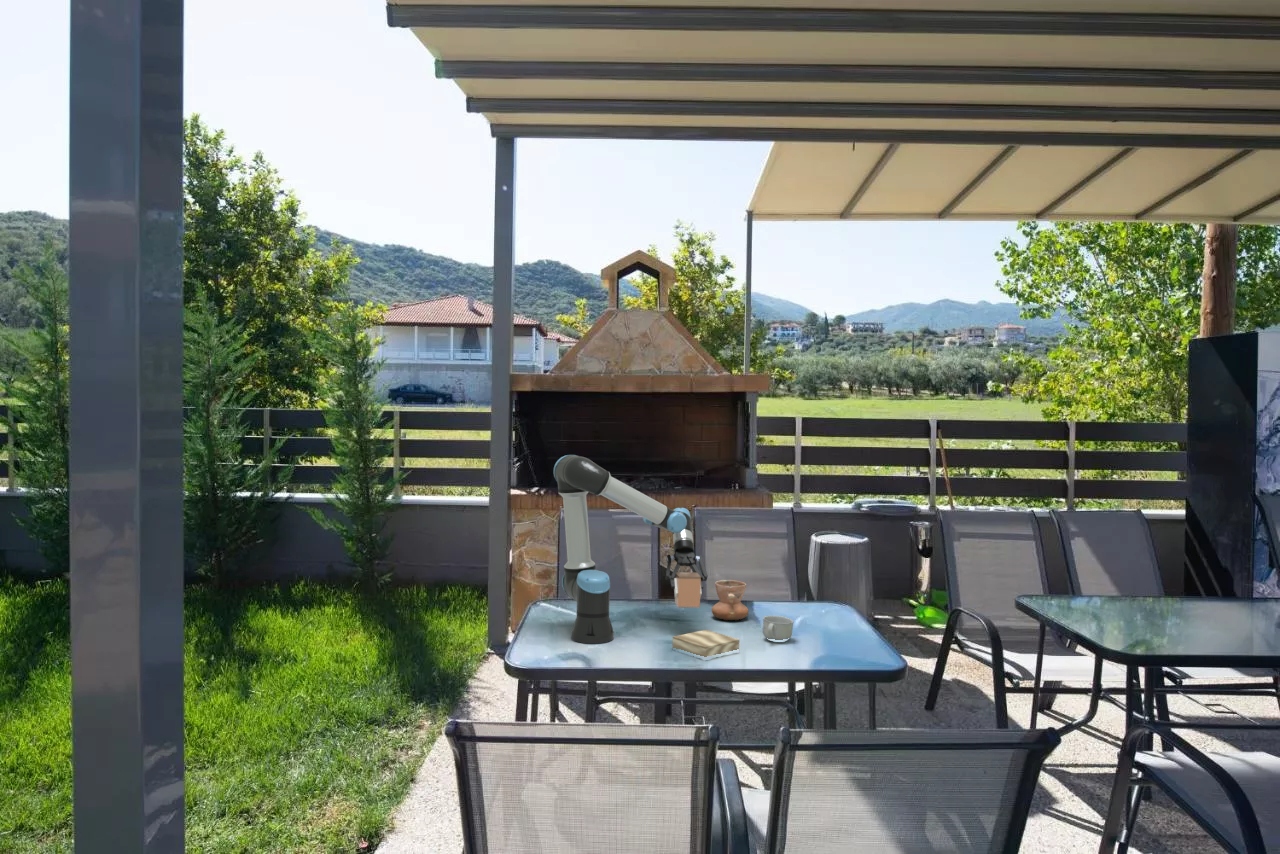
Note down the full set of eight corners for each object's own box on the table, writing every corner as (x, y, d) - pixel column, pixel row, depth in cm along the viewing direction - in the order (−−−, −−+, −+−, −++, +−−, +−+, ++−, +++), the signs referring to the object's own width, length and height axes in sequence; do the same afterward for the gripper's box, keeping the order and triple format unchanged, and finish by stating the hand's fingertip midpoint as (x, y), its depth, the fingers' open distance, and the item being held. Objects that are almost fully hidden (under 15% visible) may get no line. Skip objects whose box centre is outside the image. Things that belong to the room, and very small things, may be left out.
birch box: (705, 662, 287) (705, 647, 287) (672, 651, 299) (672, 636, 299) (739, 654, 297) (739, 639, 297) (706, 643, 309) (706, 629, 309)
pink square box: (677, 606, 314) (678, 576, 314) (674, 602, 322) (675, 572, 322) (699, 607, 315) (700, 576, 314) (696, 602, 322) (697, 572, 322)
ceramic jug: (749, 624, 337) (750, 587, 336) (711, 623, 337) (712, 586, 337) (746, 613, 354) (747, 578, 354) (711, 612, 355) (711, 577, 355)
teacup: (772, 635, 321) (772, 613, 321) (798, 640, 314) (799, 618, 314) (752, 642, 310) (752, 620, 310) (778, 648, 303) (779, 625, 303)
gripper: (709, 550, 336) (715, 601, 320) (655, 549, 334) (658, 600, 318) (712, 538, 330) (718, 590, 314) (657, 537, 328) (660, 589, 313)
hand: (688, 595), depth 316 cm, fingers closed on pink square box, 8 cm apart
